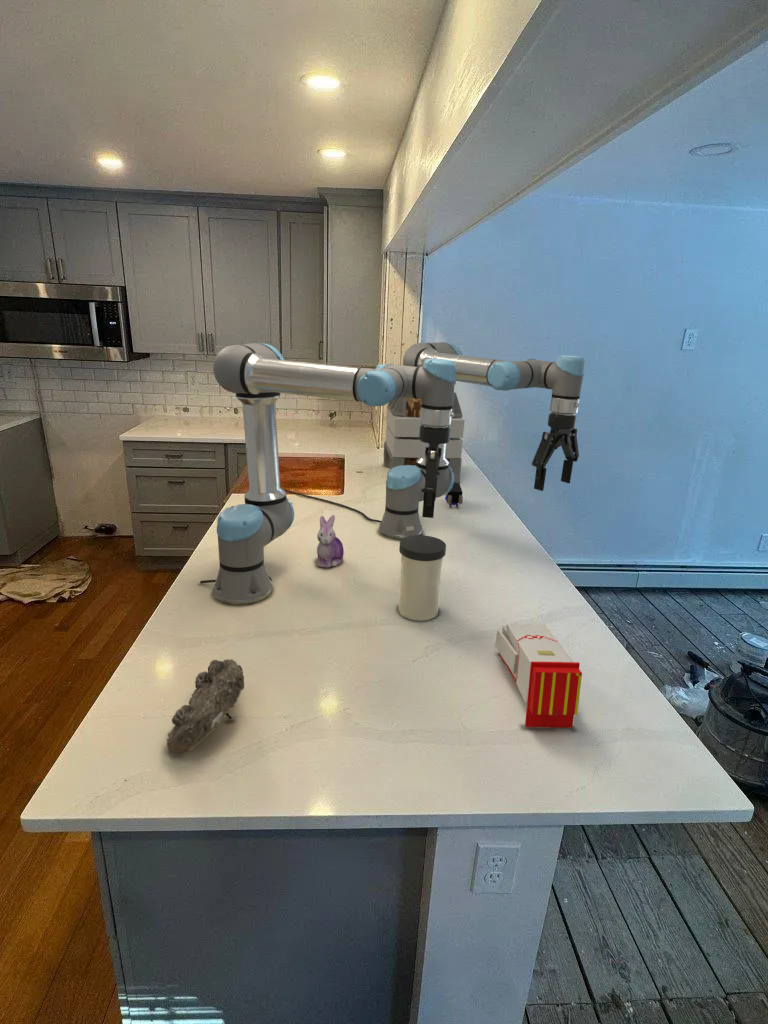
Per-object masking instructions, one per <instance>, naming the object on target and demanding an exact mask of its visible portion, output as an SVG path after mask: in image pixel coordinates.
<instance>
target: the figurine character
mask: <svg viewBox="0 0 768 1024" xmlns="http://www.w3.org/2000/svg"><path fill="white" fill-rule="evenodd" d="M463 493H464V492H463V489H462V487H461V484H460V482H459V483H455V482H454V484H453V487H452V489H451V490H450V491H449V492H448V493H447V494H445V495H444V496H445V497H444V499H445V501H446V503H447V504H448V505H449V508H452V506H456V507H455V508H456V509H458V508H459V505H463V501H464V495H463Z"/></svg>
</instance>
